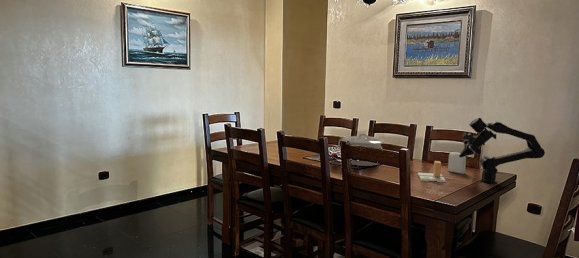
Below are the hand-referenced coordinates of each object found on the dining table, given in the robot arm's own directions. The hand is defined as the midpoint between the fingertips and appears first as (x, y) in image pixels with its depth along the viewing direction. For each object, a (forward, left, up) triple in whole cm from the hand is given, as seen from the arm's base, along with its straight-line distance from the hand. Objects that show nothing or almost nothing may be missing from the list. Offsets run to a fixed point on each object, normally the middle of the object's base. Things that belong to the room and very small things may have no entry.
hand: (459, 156), depth 225 cm
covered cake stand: (+51, +31, -14) cm, 62 cm away
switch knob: (+6, +10, -13) cm, 17 cm away
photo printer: (+15, -14, -14) cm, 25 cm away
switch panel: (+8, +12, -14) cm, 20 cm away
